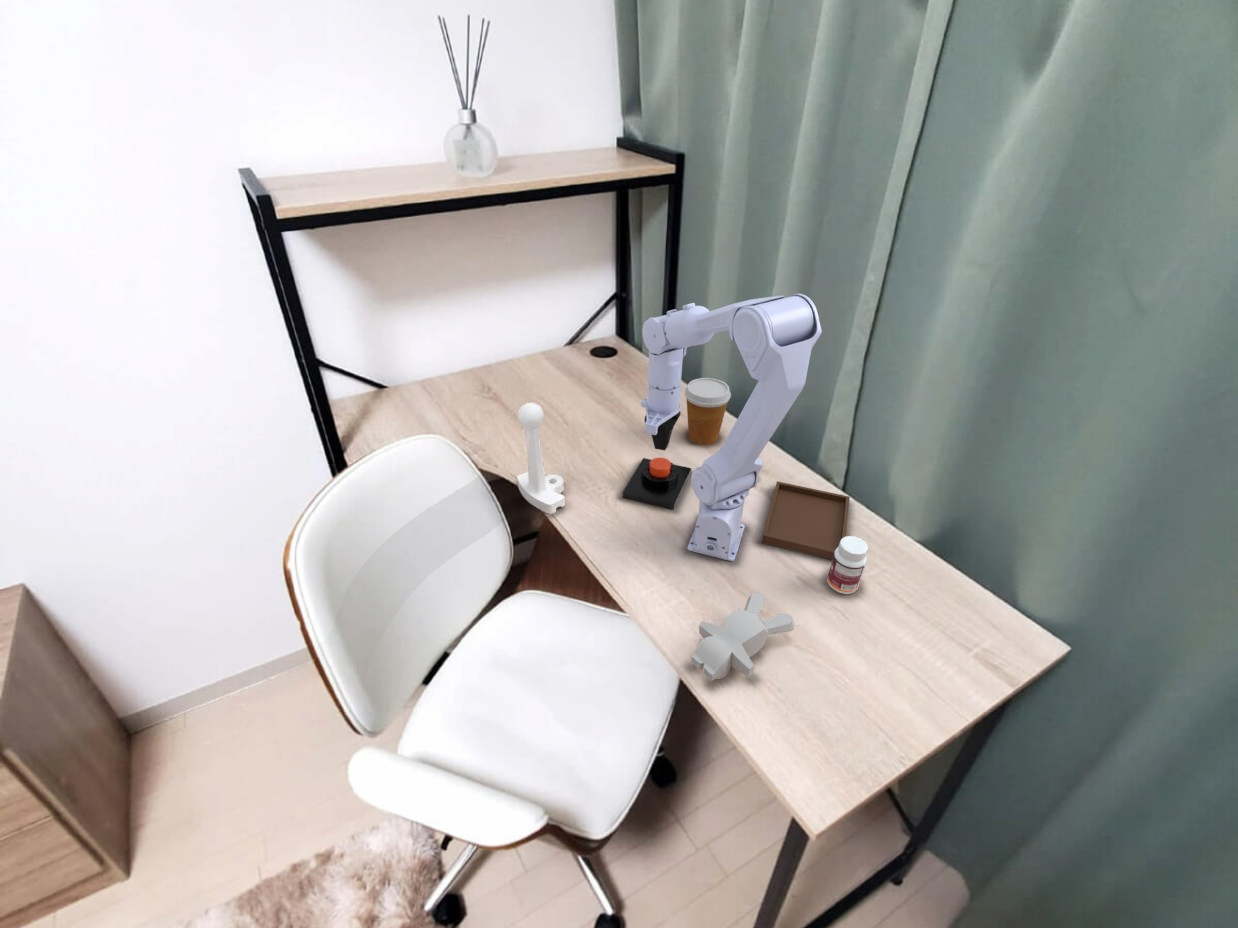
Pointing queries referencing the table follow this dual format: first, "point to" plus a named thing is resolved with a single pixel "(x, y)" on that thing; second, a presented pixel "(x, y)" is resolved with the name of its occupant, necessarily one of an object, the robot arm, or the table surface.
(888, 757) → the table surface
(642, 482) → the switch block
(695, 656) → the bunny figurine
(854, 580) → the pill bottle
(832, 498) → the shallow brown tray
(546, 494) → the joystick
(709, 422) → the disposable coffee cup
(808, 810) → the table surface
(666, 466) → the power button
